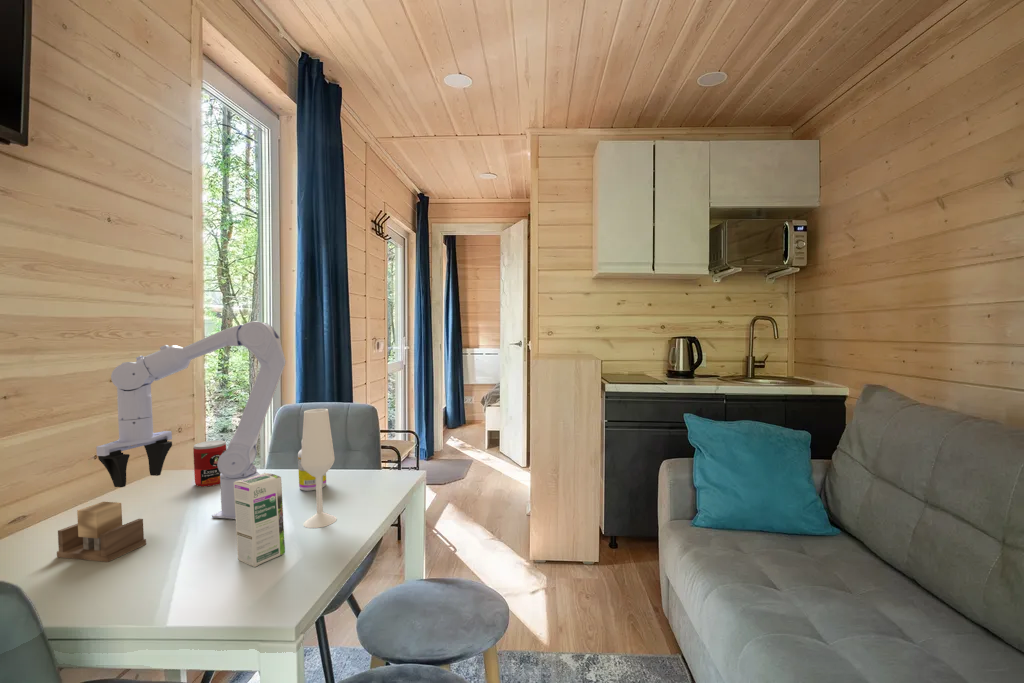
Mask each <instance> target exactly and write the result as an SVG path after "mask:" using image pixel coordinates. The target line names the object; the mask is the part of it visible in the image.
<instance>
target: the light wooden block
mask: <svg viewBox="0 0 1024 683" xmlns="http://www.w3.org/2000/svg"><path fill="white" fill-rule="evenodd" d="M122 509H123V508H122V502H117V501H115V502H114V501H101V502H97V503H95V504H91V505H88V506H86V507H83V508H81V509H77V511H76V512H77V513H76V514H77V524H78V537H86V538H100V534H102V533H104V532H107V531H109V530H112V529H114V528H117V527H119V526H122V525H123V514H122V513H123V512H122V511H123V510H122Z"/></svg>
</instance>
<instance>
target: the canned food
mask: <svg viewBox="0 0 1024 683" xmlns="http://www.w3.org/2000/svg"><path fill="white" fill-rule="evenodd" d="M192 450H193V470H194V471H193V472H194V474H193V476H194V483H195V486H196V487H199V486H201V487H200V488H203V487H204V486H207V487H212V486H213V485H214V486H216V485H221V484H220V474H221V472H220V471H219V469H218V466H217V463H218V459H219V457H220V456H221V455H222V454H223V453H224V452H225V451H226V450H227V441H226V440H222V439H221V440H220V439H218V440H208V441H202V442H198V443H196V444H193V449H192ZM204 488H205V487H204Z"/></svg>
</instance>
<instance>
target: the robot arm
mask: <svg viewBox="0 0 1024 683" xmlns="http://www.w3.org/2000/svg"><path fill="white" fill-rule="evenodd" d="M241 346H242V347H244V348H246V349H247V350H248V351H250V352H251V353H252V354H253V355H254V356H255V358H256V360H257V361H258V363H259V365H260V368H259V370H258V374H257V376H256V379H255V382H254V384H253V387H252V389H251V392H250V394H249V396H248V399H247V402H246V405H245V407H244V409H243V411H242V415H241V418H240V421H239V422H238V425H237V428H236V430H235V433H234V435H233V436H232V439H231V440H230V442H229V444H228V446H227V447H226V451H225V452H224V453H223V454H222V455H221V456H220V457H219V459H218V463H217V466H218V469H219V471H220V472H221V474H220V484H219V485H220V503H221V506H220V507H221V508H220V509H221V510H220V511H218V512H216V513H214V514H212V515H211V518H214V519H215V518H217V519H230V520H236V516H235V499H234V482H235V481H238V480H243V479H246V478H250V477H254V476H257V475H261V474H262V473H259V472H258V471H257V467H256V465H255V464H254V463H253V462H254V461H255V460H256V458H257V455H258V454H257V453H258V451H257V443H258V440H259V435H260V432H261V430H262V428H263V424H264V422H265V419H266V417H267V414H268V411H269V409H270V406H271V403H272V401H273V398H274V395H275V393H276V390H277V387H278V384H279V382H280V379H281V376H282V374H283V371H284V370H285V366H286V362H287V361H286V357H285V354H284V351H283V346H282V342H281V338H280V335H279V334H278V332H277V331H276V330H275V328H274V327H273V326H272V325H270V324H269V323H267V322H262V321H258V320H257V321H256V320H253V321H248V322H246V323H244V324H238V325H234V326H231V327H228V328H224V329H223V330H221V331H218V332H216V333H214V334H210V335H208V336H207V337H204V338H202V339H200V340H197V341H195V342H193V343H191V344H189V345H186V346H184V347H183V346H179V345H176V344H175V345H174V344H173V345H170V346H169V345H168V344H164V345H161V346H159V349H160V350H157V351H155V352H153V353H149V354H147V355H146V356H145V355H144V356H143V355H138V356H136V358H135V359H136V361H134V362H133V361H124V362H122V363H121V364H119V365H117V366H116V367H115V368H114V369H113V370H112V371H111V375H110V378H111V382H112V384H113V385H114V387H116V392H117V393H116V396H117V399H116V400H117V419H118V420H117V421H118V422H117V423H118V439H117V440H115V441H112V442H111V441H110V442H109V443H104V444H102V445H96V448H95V449H96V456H97V459H98V460H99V462H100V463H101V464H102V465H103V466H104V467H105V469H106V470H107V473H109V476H110V479H111V481H112V483H113V484H112V485H113V486H114V488H125V487H126V486H127V468H128V467H127V466H128V463H129V462H128V461H129V458H130V456H131V454H129V453H128V454H127V453H124V452H125V451H127V450H132V449H136V448H140V447H143V448H144V449H145V452H146V454H147V459H148V470H149V471H148V472H149V475H150V476H151V477H152V476H154V477H158V476H161V474H162V471H163V466H164V463H165V460H166V457H167V455H168V453H169V451H170V450H171V448H172V447H173V441H172V440H173V433H172V431H171V430H164V431H163V430H162V431H159V432H154V419H153V418H154V417H153V400H152V399H153V396H152V384H153V383H154V381H155V382H157V381H160V380H162V379H164V378H166V377H169V376H172V375H174V374H176V373H179V372H181V371H184V370H186V369H187V368H188V367H189V366H190V364H191V362H192V360H195V359H197V358H199V357H202V356H205V355H208V354H210V353H213V352H215V351H218V350H221V349H223V348H226V347H241Z"/></svg>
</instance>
